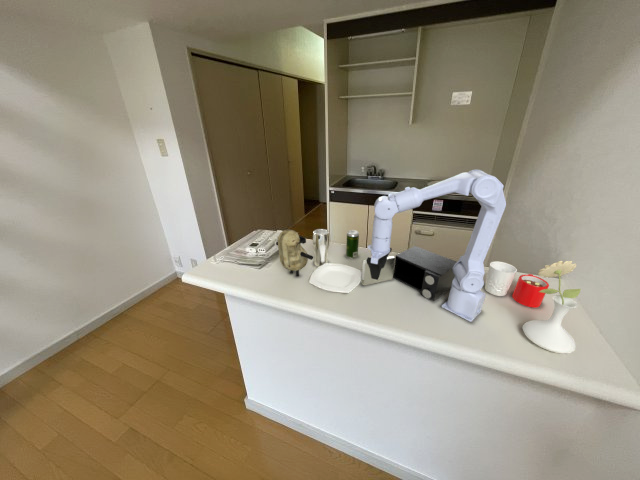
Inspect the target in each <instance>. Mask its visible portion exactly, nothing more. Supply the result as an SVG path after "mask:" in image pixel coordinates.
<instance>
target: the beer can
mask: <svg viewBox="0 0 640 480" xmlns="http://www.w3.org/2000/svg"><path fill="white" fill-rule="evenodd" d="M359 240H360V234H359V231H358V230H356V229H350V230H347V233H346V246H345V247H346V248H345V256H346V258H348V259H350V260H353V259H357V258H358V256H359V243H360V241H359Z"/></svg>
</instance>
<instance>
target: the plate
mask: <svg viewBox="0 0 640 480" xmlns="http://www.w3.org/2000/svg"><path fill="white" fill-rule="evenodd" d="M361 282H362V270H360V269H358V268H356V267H353V266H350V265H347V264H343V263H336V262H335V263H332V262H331V263H330V262H328V263H325V264H323V265H321V266H320V267H318V266H317V267H316V268H315V269H314V270H313V271H312V273H311V274H310V277H309V280H308V283H309V284H310V285H312V286H315V287H316V288H319V289H321V290H323V291H327V292H333V293H344V294H350V293H351V292H353V290H354V289H356V288H357V287H358V286H359V285H360V283H361Z"/></svg>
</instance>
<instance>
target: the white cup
mask: <svg viewBox="0 0 640 480" xmlns="http://www.w3.org/2000/svg"><path fill="white" fill-rule="evenodd" d="M517 271H518V269H517V268H516V267H515V266H514V265H512V264H510V263H508V262H504V261H499V260H497V261H496V260H495V261H491V262H489V265H488V270H487V274H486V278H485V283H484V290H485V291H486V292H488V293H489V294H491V295H494V296H498V297H505V296H506V295H507V294H508V292H509V289H510V288H511V285H512V283H513V281H514V279H515V276H516V275H517Z"/></svg>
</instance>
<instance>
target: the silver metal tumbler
mask: <svg viewBox="0 0 640 480" xmlns="http://www.w3.org/2000/svg"><path fill="white" fill-rule="evenodd" d="M312 247H313V252H314V263H313V264H314V265H315V266H316V267H317V268H318V267H320V266H321V265H323V264H325V263H329V260H328V253H329V249H330V248H329V247H330V231H329V230H328V229H325V228H317V229H314V230H313V231H312Z"/></svg>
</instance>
